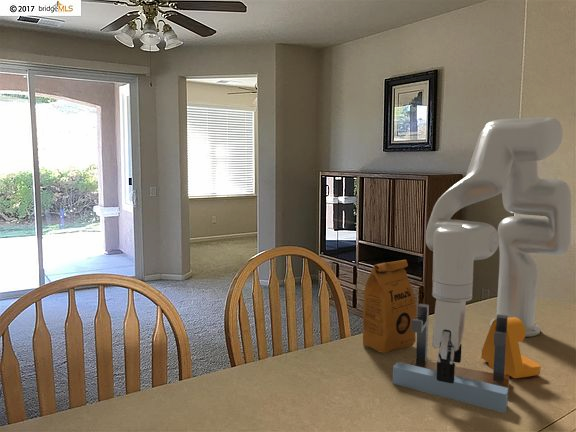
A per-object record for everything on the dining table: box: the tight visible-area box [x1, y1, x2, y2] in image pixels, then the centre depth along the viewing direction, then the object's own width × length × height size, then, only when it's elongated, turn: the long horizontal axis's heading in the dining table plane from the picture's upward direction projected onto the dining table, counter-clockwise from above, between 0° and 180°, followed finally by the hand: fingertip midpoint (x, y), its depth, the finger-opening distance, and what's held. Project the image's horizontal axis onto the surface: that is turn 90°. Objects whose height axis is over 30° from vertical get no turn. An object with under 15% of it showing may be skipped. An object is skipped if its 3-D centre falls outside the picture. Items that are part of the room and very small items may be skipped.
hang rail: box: [392, 361, 509, 414], centre depth 97 cm, size 3×22×4 cm, turn 58°
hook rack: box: [410, 303, 510, 389], centre depth 102 cm, size 8×20×15 cm, turn 63°
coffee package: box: [362, 259, 417, 354], centre depth 120 cm, size 10×12×22 cm
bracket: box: [480, 317, 542, 379], centre depth 108 cm, size 11×7×12 cm, turn 16°
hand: (449, 370), depth 97 cm, fingers open, 9 cm apart
